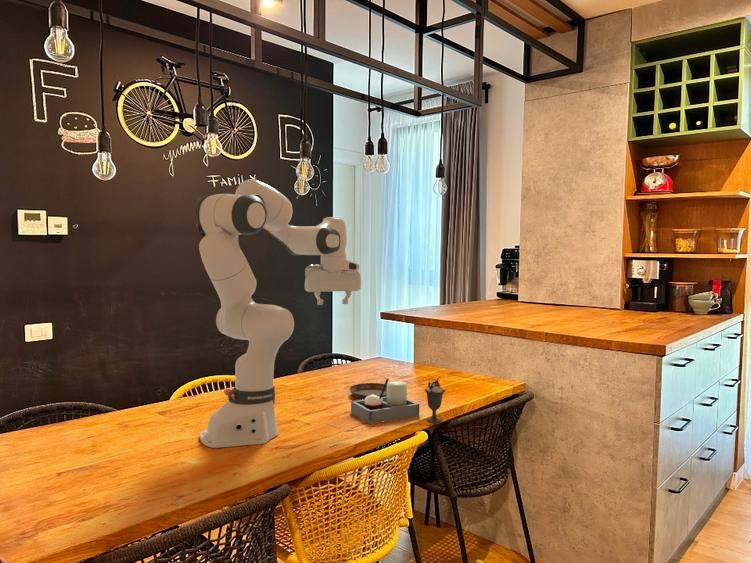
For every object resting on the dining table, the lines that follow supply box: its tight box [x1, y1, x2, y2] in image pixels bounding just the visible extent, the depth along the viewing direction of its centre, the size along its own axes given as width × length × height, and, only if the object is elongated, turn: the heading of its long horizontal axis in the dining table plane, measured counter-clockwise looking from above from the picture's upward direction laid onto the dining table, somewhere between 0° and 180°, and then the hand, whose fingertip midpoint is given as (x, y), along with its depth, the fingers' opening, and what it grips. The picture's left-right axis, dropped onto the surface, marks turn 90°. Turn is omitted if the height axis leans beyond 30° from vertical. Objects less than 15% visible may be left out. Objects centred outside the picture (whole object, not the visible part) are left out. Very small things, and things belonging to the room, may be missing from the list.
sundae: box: [424, 376, 446, 424], centre depth 182 cm, size 7×7×15 cm
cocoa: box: [360, 377, 390, 410], centre depth 185 cm, size 10×6×12 cm, turn 51°
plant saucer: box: [348, 382, 387, 400], centre depth 212 cm, size 18×18×3 cm
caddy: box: [350, 380, 420, 425], centre depth 188 cm, size 19×13×10 cm
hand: (332, 304), depth 195 cm, fingers open, 8 cm apart
